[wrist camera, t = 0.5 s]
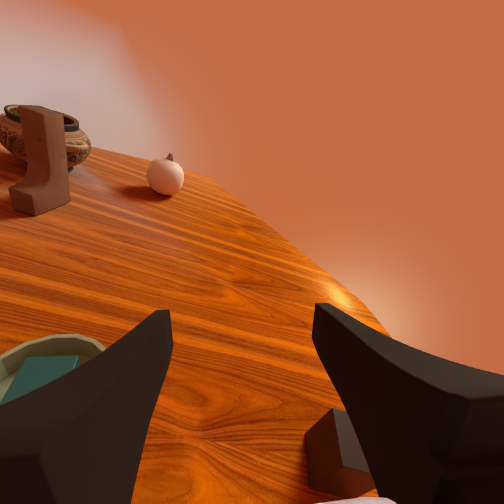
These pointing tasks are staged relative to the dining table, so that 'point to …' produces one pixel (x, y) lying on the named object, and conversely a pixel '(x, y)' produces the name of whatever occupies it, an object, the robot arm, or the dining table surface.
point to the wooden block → (42, 162)
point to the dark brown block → (336, 457)
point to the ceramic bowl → (11, 137)
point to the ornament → (165, 175)
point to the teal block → (38, 374)
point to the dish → (46, 353)
